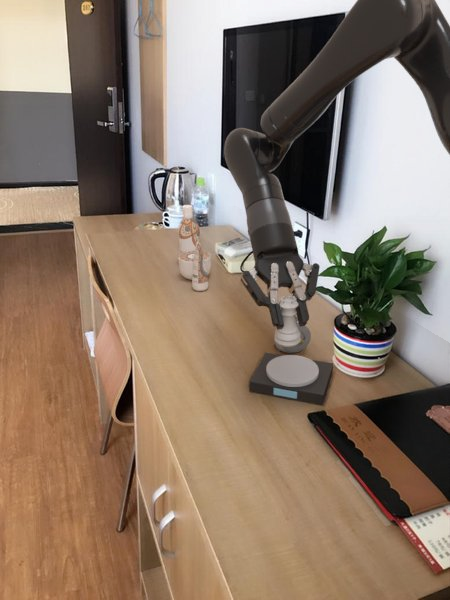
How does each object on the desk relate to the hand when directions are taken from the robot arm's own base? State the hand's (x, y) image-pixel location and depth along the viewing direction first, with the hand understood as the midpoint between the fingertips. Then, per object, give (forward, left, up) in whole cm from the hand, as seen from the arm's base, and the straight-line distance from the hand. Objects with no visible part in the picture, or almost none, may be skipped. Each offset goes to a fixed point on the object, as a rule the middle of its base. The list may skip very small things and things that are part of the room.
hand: (292, 326), depth 81 cm
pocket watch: (+5, -22, -18) cm, 29 cm away
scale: (+2, -10, -18) cm, 20 cm away
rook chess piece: (+1, -2, -4) cm, 5 cm away
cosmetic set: (+41, -54, -18) cm, 70 cm away
